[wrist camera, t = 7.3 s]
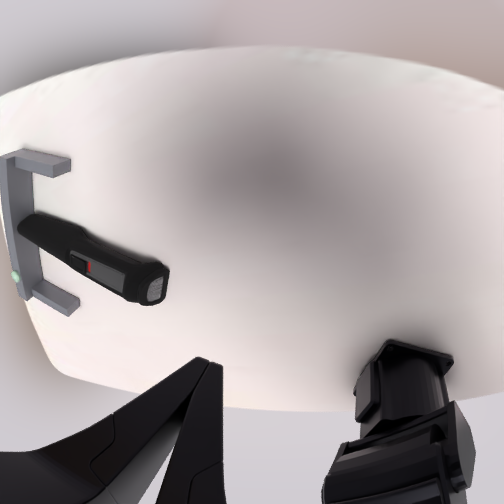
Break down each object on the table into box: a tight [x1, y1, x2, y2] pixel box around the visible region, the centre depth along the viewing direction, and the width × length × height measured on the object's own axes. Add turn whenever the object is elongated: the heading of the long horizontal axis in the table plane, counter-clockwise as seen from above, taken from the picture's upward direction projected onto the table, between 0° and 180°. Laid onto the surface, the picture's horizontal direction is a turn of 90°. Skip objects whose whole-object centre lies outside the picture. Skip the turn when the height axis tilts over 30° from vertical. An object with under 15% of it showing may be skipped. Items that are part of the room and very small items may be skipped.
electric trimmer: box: [17, 214, 169, 306], centre depth 24 cm, size 4×16×3 cm, turn 73°
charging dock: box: [0, 149, 80, 317], centre depth 24 cm, size 7×15×3 cm, turn 167°
